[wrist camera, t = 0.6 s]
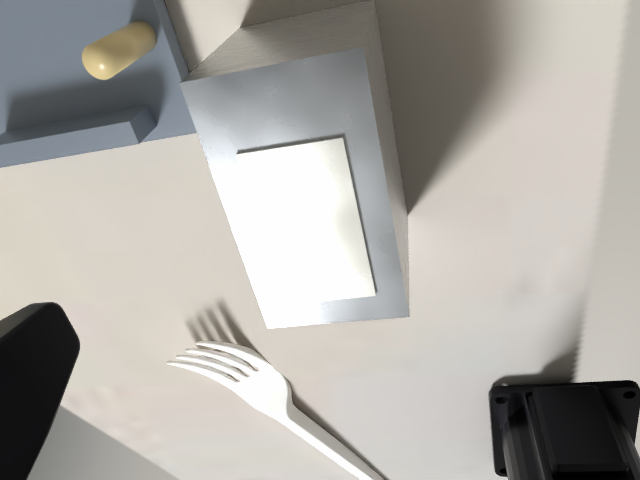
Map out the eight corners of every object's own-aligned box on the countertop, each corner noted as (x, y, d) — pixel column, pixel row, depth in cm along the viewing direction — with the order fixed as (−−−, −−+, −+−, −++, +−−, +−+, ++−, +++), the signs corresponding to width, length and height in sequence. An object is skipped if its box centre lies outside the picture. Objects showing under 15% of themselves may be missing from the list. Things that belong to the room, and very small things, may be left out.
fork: (411, 521, 34) (413, 552, 33) (172, 339, 27) (159, 367, 25) (455, 506, 33) (458, 538, 31) (215, 309, 25) (204, 338, 24)
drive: (407, 214, 21) (409, 319, 16) (297, 228, 22) (267, 330, 17) (374, -2, 17) (362, 48, 12) (240, 26, 18) (177, 84, 13)
